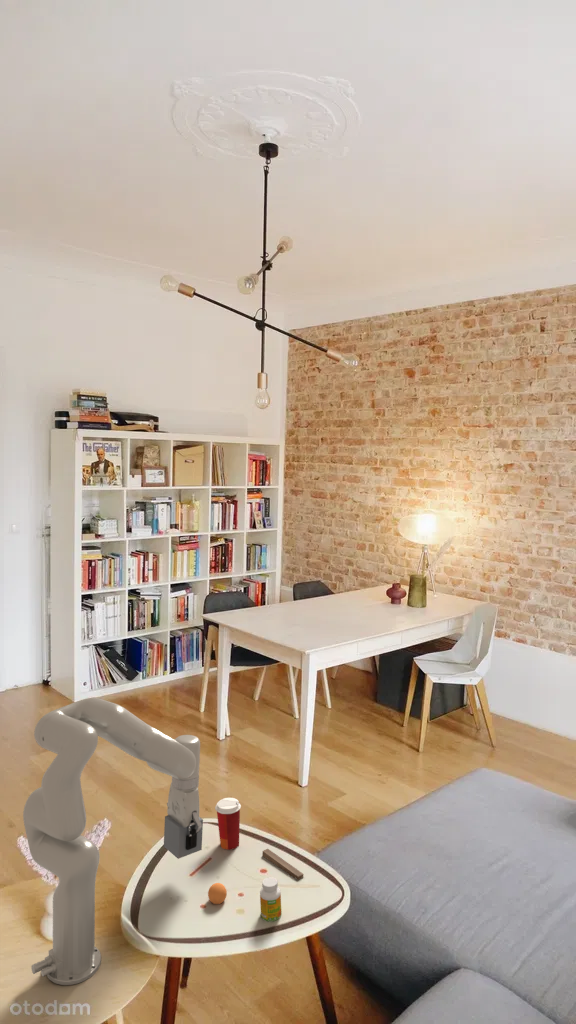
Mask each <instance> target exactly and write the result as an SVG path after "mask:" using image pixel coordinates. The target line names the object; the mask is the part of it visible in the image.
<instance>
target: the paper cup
mask: <svg viewBox="0 0 576 1024" xmlns="http://www.w3.org/2000/svg"><path fill="white" fill-rule="evenodd" d="M241 807H242V805H241V803H240V801H239V800H238V799H237V798H235V797H224V798H222V799H220V800H219V801H217V803H216V805H215V808H214V809H215V811H216V816H217V824H218V835H219V842H220V847H221V849H223V850H230V851H231V850H234V849H236V848H239V846H240V826H241V825H240V821H241V819H240V818H241V812H240V811H241Z"/></svg>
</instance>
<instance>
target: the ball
mask: <svg viewBox="0 0 576 1024" xmlns="http://www.w3.org/2000/svg"><path fill="white" fill-rule="evenodd" d="M227 894H228V890H227V888H226V886H225V885H224V884H223V883H220V882H216V883H213V884H212V885H210V886H209V889H208V891H207V896H208V899H209V901H210V902H211V903H212V904H213V905H220V904H222V903H223V902H225V900H226V898H227Z"/></svg>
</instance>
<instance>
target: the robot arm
mask: <svg viewBox="0 0 576 1024" xmlns="http://www.w3.org/2000/svg"><path fill="white" fill-rule="evenodd" d="M33 733H34V734H33V736H34V740H35V741H36V743H37V745H38V746H39V747H41V748H42V749H43V750H47V751H49V752H52V753H54V754H57V755H56V756H55V757H54V759H53V761H52V762H51V763H50V764H49V766H48V768H47V769H46V770H45V772H44V774H43V776H42V778H41V786H40V787H37V788H36V789H34V790H33V791H32V792H31V794H30V795H29V796H28V797H27V799H26V801H25V804H24V808H23V812H22V813H23V815H22V817H23V820H22V821H23V826H24V830H25V836H26V839H27V844H28V850H29V853H30V856H31V858H32V860H33V861H34V863H35V864H37V865H38V866H40V867H41V868H43V869H45V870H46V871H49V872H50V873H51V874H53V875H55V876H56V877H57V878H58V885H57V886H56V888H55V889H54V892H53V896H52V948H50V949H49V950H48V955H47V956H45V957H44V959H43V960H41V961H37V962H36V963H33V964H32V965H31V966H30V967H31V971H32V972H31V973H32V974H33V975H35V974H37V973H39V972H40V973H41V976H42V977H45V976H46V977H47V978H48V979H49V981H51V982H52V983H54V984H57V985H59V986H72V985H77V984H79V983H83V982H84V981H86V980H87V981H88V980H89V979H90V978H92V976H94V975H95V974H96V973H97V971H98V970H99V968H100V966H101V963H102V954H101V952H100V949H99V948H98V947H97V946H95V939H96V938H95V936H96V935H95V932H96V930H95V927H96V926H95V925H96V924H95V923H96V920H95V919H96V918H95V917H96V915H95V914H96V897H95V896H96V880H97V875H98V874H97V873H98V868H99V864H100V851H99V849H98V846H97V845H96V844H95V843H94V842H93V841H92V840H90V839H89V838H87V837H86V836H84V835H82V834H83V832H84V831H85V828H86V824H87V813H86V807H85V801H84V796H83V790H82V785H81V784H82V783H81V776H82V773H83V770H84V769H85V767H86V765H87V764H88V762H89V761H90V759H91V758H92V756H93V754H94V753H95V751H96V749H97V747H98V744H99V743H98V742H99V737H100V738H102V739H103V740H105V741H106V742H108V743H110V744H111V745H113V746H115V747H116V748H118V749H119V750H122V751H123V752H125V753H126V754H128V755H129V756H132V757H134V758H135V759H138V760H140V761H142V762H146V764H147V766H148V767H149V768H150V769H153V770H155V772H156V771H157V772H159V773H162V774H165V775H167V776H169V777H171V783H170V787H169V791H168V797H167V802H166V805H167V809H166V812H167V815H169V816H170V817H171V818H172V819H174V820H175V821H176V822H177V823H179V824H180V825H181V826H183V827H184V828H185V827H187V833H188V835H187V836H186V849H187V850H189V849H192V848H195V847H196V846H197V834H198V832H199V831H200V829H201V828H202V824H201V822H200V820H199V817H200V794H199V784H200V783H199V779H200V760H201V741H200V739H199V737H198V736H196V735H192V734H182V735H179V736H177V737H175V738H172V737H170V736H168V735H167V734H164V733H163V732H162V731H160V730H158V729H157V728H155V727H153V726H151V725H150V724H148V723H147V722H145V721H143V720H142V719H141V718H139V717H138V716H136V715H135V714H133V712H130V711H129V710H128V709H127V708H125V707H123V706H121V705H120V704H118V703H115V702H112V701H109V700H106V699H102V698H100V697H95V696H94V697H93V696H92V697H87V698H83V699H80V700H77V701H75V702H72V703H69V704H67V705H64V706H61V707H59V708H56V709H54V710H51V711H49V712H47V713H45V714H44V715H43V716H42V717H41V718H40V719H39V720H38V721H37V723H36V724H35V728H34V732H33ZM191 821H193V823H190V822H191ZM192 825H194V829H192V830H191V829H190V826H192Z"/></svg>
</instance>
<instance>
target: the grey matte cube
mask: <svg viewBox="0 0 576 1024" xmlns="http://www.w3.org/2000/svg"><path fill="white" fill-rule="evenodd" d="M199 820H200V822H201V824H202V828H201V829H200V831H199V832H198V834H197V846H196V847H195V848H192V849H189V850H187V849H186V836H187V835H188V833H187V827H185V828H184V827H183V826H181V825H180V824H179V823H177V822H176V821H175V820H174V819H172V818H171V817H170V816H169V815H168V814H167V815H165V816H164V829H163V831H164V832H163V848H165V849H166V850H167V851H168V852H169V853H170V854H172V855H173V856H174V857H175V858H177V860H179V859H182V858H184V857H187V856H190V855H191V854H194V853H197V852H199V851H202V847H203V846H202V845H203V831H204V830H203V828H204V827H203V824H204V823H203V822H204V820H203V818H202V817H200V816H199ZM190 823H193V821H191V822H190ZM190 829H191V830H192V829H194V825H192V826H190Z"/></svg>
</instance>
